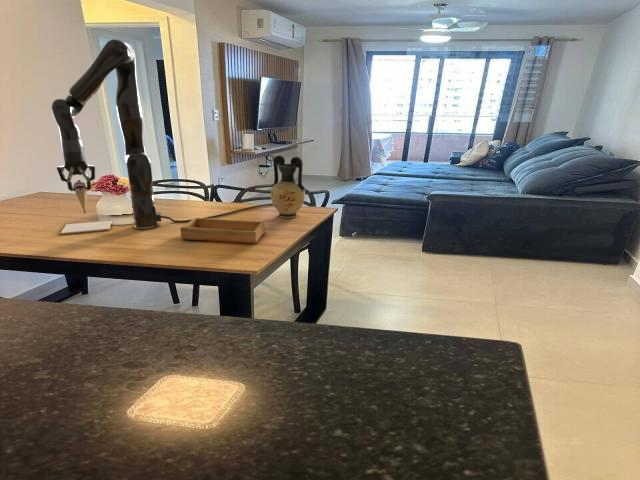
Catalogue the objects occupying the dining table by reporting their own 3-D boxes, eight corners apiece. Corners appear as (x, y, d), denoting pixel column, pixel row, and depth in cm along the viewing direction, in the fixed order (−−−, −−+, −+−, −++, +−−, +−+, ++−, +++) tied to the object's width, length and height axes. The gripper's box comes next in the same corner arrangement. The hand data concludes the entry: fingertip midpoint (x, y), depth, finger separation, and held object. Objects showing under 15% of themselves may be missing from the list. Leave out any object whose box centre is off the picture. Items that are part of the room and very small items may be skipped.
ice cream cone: (81, 216, 163) (75, 181, 158) (74, 214, 166) (67, 180, 161) (95, 213, 168) (89, 179, 163) (88, 211, 170) (81, 178, 166)
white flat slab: (111, 220, 179) (111, 219, 179) (108, 230, 165) (108, 229, 165) (66, 224, 172) (66, 223, 172) (60, 234, 158) (59, 233, 158)
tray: (264, 233, 166) (264, 220, 164) (255, 244, 152) (255, 231, 150) (196, 230, 168) (195, 217, 167) (181, 240, 154) (180, 227, 152)
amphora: (308, 212, 200) (308, 154, 190) (301, 221, 184) (301, 158, 175) (275, 210, 203) (274, 153, 193) (266, 219, 187) (264, 157, 177)
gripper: (50, 151, 152) (59, 193, 157) (92, 150, 157) (98, 191, 163) (54, 149, 158) (62, 189, 164) (94, 149, 164) (100, 187, 169)
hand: (80, 190), depth 163 cm, fingers closed on ice cream cone, 5 cm apart
